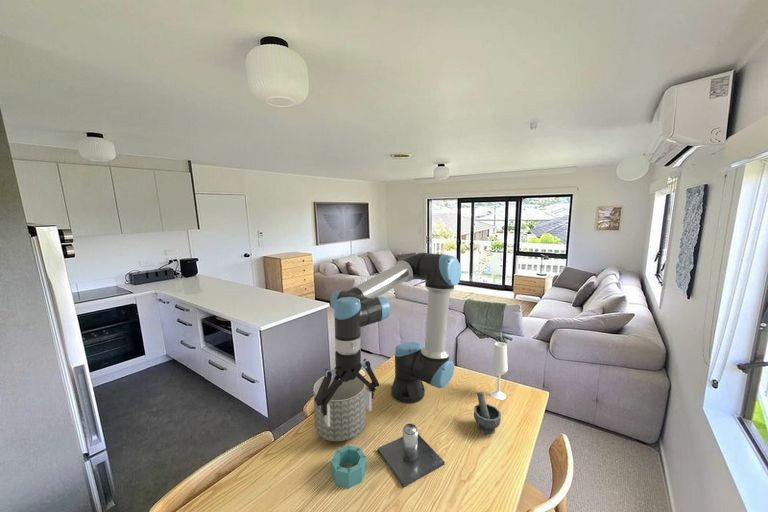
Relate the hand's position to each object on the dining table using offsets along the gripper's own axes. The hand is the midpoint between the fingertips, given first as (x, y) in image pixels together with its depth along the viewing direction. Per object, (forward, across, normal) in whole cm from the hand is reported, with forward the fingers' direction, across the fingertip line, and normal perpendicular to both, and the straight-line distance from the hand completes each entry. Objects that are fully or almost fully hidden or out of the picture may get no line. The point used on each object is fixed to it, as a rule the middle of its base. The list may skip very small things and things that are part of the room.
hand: (348, 416), depth 90 cm
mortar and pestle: (+19, +53, -8) cm, 57 cm away
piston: (+19, +20, -5) cm, 28 cm away
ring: (+19, 0, 0) cm, 19 cm away
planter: (+20, +5, +19) cm, 28 cm away
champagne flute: (+19, +74, +3) cm, 76 cm away
